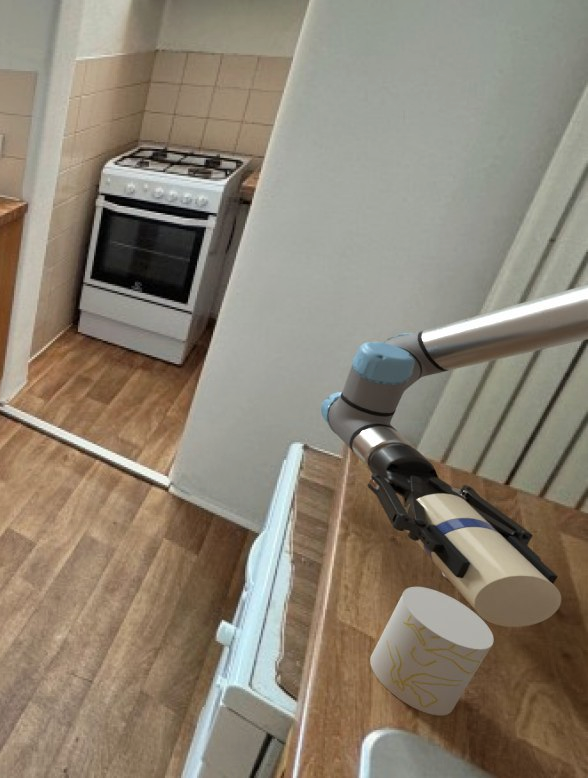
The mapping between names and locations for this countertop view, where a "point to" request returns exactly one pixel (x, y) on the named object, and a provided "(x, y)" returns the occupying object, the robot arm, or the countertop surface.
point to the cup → (430, 650)
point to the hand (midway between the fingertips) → (506, 576)
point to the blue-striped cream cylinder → (489, 566)
